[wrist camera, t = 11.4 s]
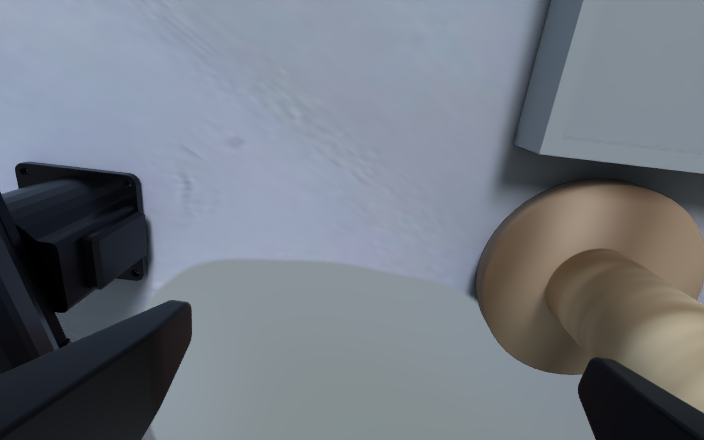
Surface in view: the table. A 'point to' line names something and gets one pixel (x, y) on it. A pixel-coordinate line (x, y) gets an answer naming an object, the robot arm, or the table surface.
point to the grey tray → (619, 84)
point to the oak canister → (632, 320)
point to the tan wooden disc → (568, 240)
